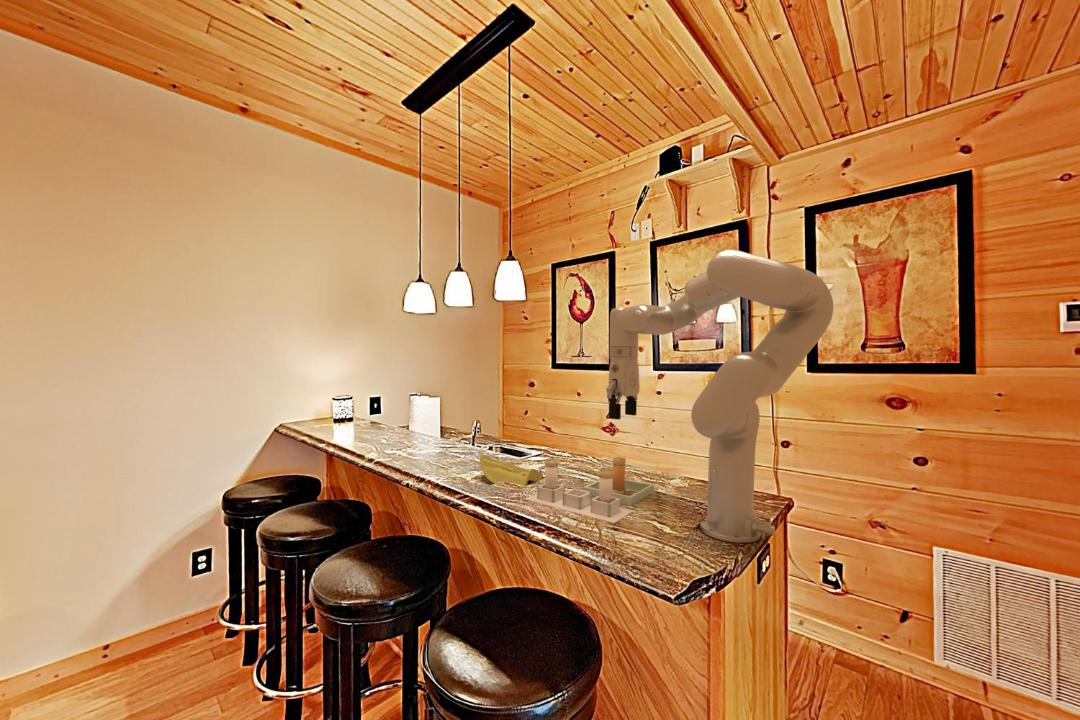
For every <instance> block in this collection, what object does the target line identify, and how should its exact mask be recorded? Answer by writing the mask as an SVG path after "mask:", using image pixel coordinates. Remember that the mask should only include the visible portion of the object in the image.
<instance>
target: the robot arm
mask: <svg viewBox="0 0 1080 720" xmlns="http://www.w3.org/2000/svg"><path fill="white" fill-rule="evenodd" d="M739 298H743V299H746V300H749V301H753V302H756V303H758V304H761V305H764V306H767V307H771V308H775V309H780V310H784V311H785V312H784V314H783V316H782V318H781V319H779V320H778V321H777V322H776V323H775V324H774V325H773V326H772V327H771V328H770V329H769V331H768V332H767V334H766V335H765V337H764V338H763V339H762V340H761V342H760V343H759V344H758V345H757V346H756V347H755V348H754V349H753V350H752V351H746V352H745V351H743V352H739V353H736V354H734V355H732V356H730V357H729V358H728V359H727V360H726V361H724V362H723V363H722V365H720V366H719V368H718V370H717V371H716V372H715V374H713V376H712V377H711V379H710V380H709V382H708V383H707V384H706V386H705V388H704V389H702V391H701V392H700V394H699V395H698V397H697V398H696V400H695V402H694V404H693V406H692V409H691V414H690V415H691V417H690V418H691V423H692V425H693V427H694V429H695V430H696V431H697V433H699V434H700V435H701V436H703V437H706V438H708V439H710V442H709V450H708V466H707V467H708V468H707V469H708V471H707V473H708V474H707V476H708V477H707V478H708V479H707V512H706V515H707V516H706V518H702V519H701V520H700V521H699V529H700V530H701V531H702V533H704V534H705V535H707V536H709V537H711V538H713V539H716V540H720V541H723V542H730V543H737V544H738V543H740V544H741V543H742V544H744V543H745V544H746V543H752V542H756V541H758V540H759V539H760V538H761V533H763V534H765V535H767V536H768V535H769V536H775V532H776V526H774V525H772V524H771V522H768V521H761V520H760V519H758V517H757V516H758V513H756V512H754V504H755V503H754V502H755V501H754V498H755V496H754V495H755V465H756V447H757V446H756V445H757V438H758V433H759V426H760V409H759V406H758V404H757V402H756V401H757V400H758V399H759V398H765V397H770V396H773V395H774V394H776V393H778V392H779V391H780V390H781V389H782V388H783V386H784V385H785V384H786V383H787V381H788V379H789V378H790V377H791V376H792V374H794V372H795V371H796V370H797V368H798V367H799V366H800V365H801V364H802V363H803V361H804V360H805V358H806V357H807V355H808V354H809V353H810V352H811V350H812V349H813V348H814V347H815V346H816V344H818V342H819V341H820V339H821V338H822V337H823V335H824V334H825V333H826V332H827V330H828V328H829V325H830V324H831V321H832V318H833V314H834V300H833V296H832V293H831V291H830V289H829V287H828V285H827V283H825V281H824V279H822V278H821V277H820V276H818V275H817V274H815V272H812V271H810V270H808V269H805V268H801V267H800V266H796V265H793V264H791V263H790V264H789V263H787V262H783V261H780V260H774V259H770V258H767V257H763V256H760V255H756V254H751V253H749V252H745V251H742V250H739V249H733V248H729V249H725V250H721V251H719V252H717V253H716V254H715V255H713V257H712V258H711V259H710V260H709V262H708V264H707V268H706V271H705V272H702V273H701V274H699V275H697V276H695V277H693V278H691V279H689V280H687V282H686V283H685V284H684V294H683V295H682V296H681V297H680V298H678V299H676V300H674V301H672V302H669V303H668V304H665V305H662V306H660V305H655V304H654V305H653V304H637V305H632V306H627V307H626V306H623V307H615V308H612V309H611V311H610V313H609V314H610V315H609V360H610V362H609V370H608V371H609V372H608V385H607V386H606V388H605V390H606V394H607V396H606V398H607V399H608V400H607V403H608V418H609V419H610V420H621V418H622V417H621V416H622V413H621V412H622V411H621V410H622V404H620V402H621V399H622V397H625V399H626V400H625V401H624V404H625V405H624V406H625V407H624V408H625V409H624V414H625V415H627V416H637V409H638V408H637V406H638V405H637V403H638V402H637V401H638V394H639V393H640V372H639V371H640V369H639V361H638V359H639V334H640V335H654V336H655V335H658V336H664V335H667V334H671V333H673V332H675V331H677V330H680V329H683V328H685V327H687V326H689V325H691V324H693V323H694V322H695V321H697V320H698V319H699V318H701V317H702V316H703V315H704V314H705V313H707V312H709V311H711V310H713V309H716V308H718V307H720V306H723V305H724V304H727V303H730V302H732V301H734V300H737V299H739Z"/></svg>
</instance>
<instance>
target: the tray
mask: <svg viewBox="0 0 1080 720" xmlns="http://www.w3.org/2000/svg"><path fill="white" fill-rule="evenodd" d="M654 489H655V485H654V484H651V483H645V482H642V481H641V482H640V481H635V480H630V479H626V478H625V490H630V491H634V492H635V491H636V492H635V493H633V494H631V495H626V494H624V495H622V494H618V493H613V492H612V497H614V498H619V499H620V505H621V504H622V505H627V506H630V507H631V506H634V505H635V504H637V503H638V502H640V501H642V500H644V499H645V498H647V497H648V496H650V495H654V493H655V492H654V491H655V490H654ZM582 490H584V491H588V492H592V493H591V498H595V497H597V496H599V479H598V480H596V481H593V482H591V483H589V484H587V485H584V486H583V489H582Z"/></svg>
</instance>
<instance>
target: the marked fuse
mask: <svg viewBox="0 0 1080 720" xmlns="http://www.w3.org/2000/svg"><path fill="white" fill-rule="evenodd" d="M612 470H613V488H612V492H613V493H618V494H622V495H626V489H625V479H626V457H623V456H614V457H612Z"/></svg>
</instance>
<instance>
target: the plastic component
mask: <svg viewBox="0 0 1080 720" xmlns="http://www.w3.org/2000/svg"><path fill="white" fill-rule="evenodd" d="M479 464H480V467H481V470H482V473H483V475H484V476H485V477H486V479H487V480H488V481H489V482H491V483H493V484H498V483H500V482H505V483H508V484H514V485H520V486H522V487H526V486H527V485H528V482H529V481H530V482H534V483H536V482H539V481H542V479H543V476H544V473H542V472H540V471H538V470H536V469H534V468H530V469H526V468H523V467H520V466H516V465H512V464H510V463H506V462H503V461H500V460H497V459H495V458H492V457H490V456H488V455H485V454H480V456H479Z"/></svg>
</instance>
